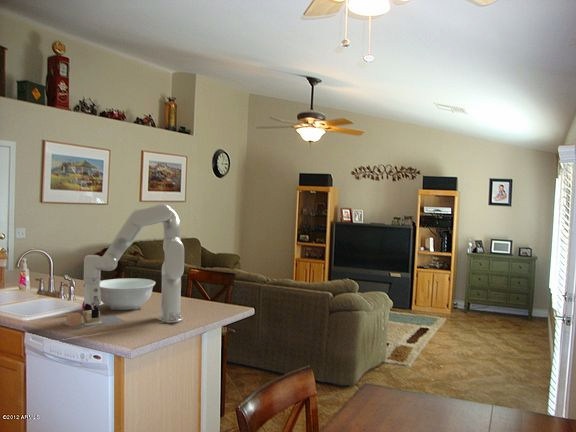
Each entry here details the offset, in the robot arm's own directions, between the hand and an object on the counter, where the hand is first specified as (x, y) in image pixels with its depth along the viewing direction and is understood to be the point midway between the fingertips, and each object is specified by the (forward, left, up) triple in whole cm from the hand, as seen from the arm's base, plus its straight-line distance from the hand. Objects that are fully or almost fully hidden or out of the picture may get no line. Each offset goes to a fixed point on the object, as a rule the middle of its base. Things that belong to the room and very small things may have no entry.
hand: (91, 315), depth 234 cm
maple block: (0, 0, -3) cm, 3 cm away
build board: (0, -2, -4) cm, 4 cm away
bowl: (+23, -27, -4) cm, 36 cm away
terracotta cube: (0, +8, -3) cm, 9 cm away
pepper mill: (+19, -6, -4) cm, 20 cm away
